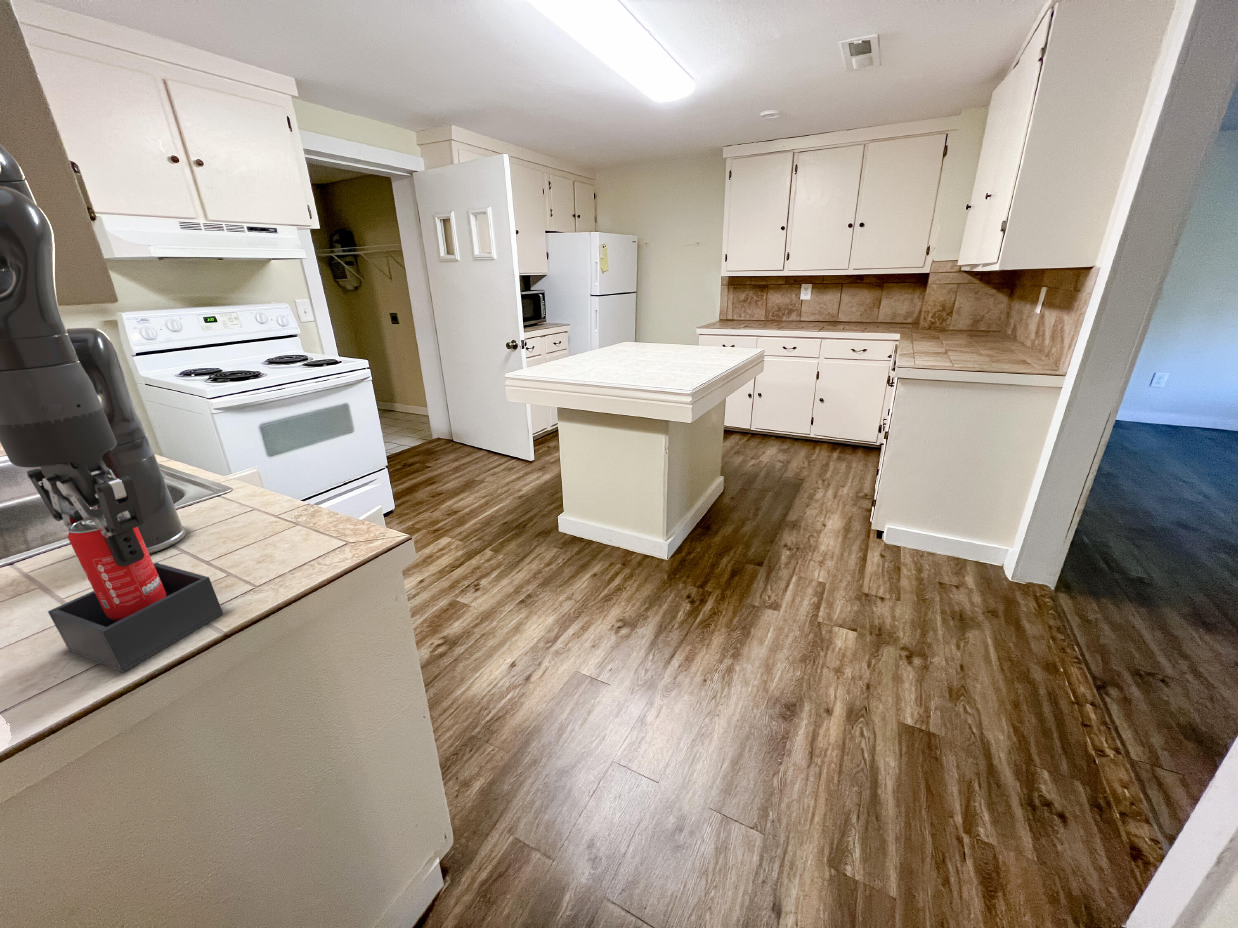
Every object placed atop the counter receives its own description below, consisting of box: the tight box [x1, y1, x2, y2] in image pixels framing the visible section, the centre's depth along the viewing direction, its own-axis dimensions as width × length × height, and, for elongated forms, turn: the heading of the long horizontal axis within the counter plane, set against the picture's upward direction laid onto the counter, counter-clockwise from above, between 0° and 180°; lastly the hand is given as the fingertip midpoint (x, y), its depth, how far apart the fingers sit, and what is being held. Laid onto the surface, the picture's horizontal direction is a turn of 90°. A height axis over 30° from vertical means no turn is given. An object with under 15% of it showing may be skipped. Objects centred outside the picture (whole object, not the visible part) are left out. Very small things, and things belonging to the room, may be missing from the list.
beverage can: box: [67, 515, 166, 622], centre depth 55 cm, size 5×5×12 cm
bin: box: [47, 562, 224, 674], centre depth 57 cm, size 10×10×6 cm
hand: (115, 557), depth 54 cm, fingers closed on beverage can, 5 cm apart
